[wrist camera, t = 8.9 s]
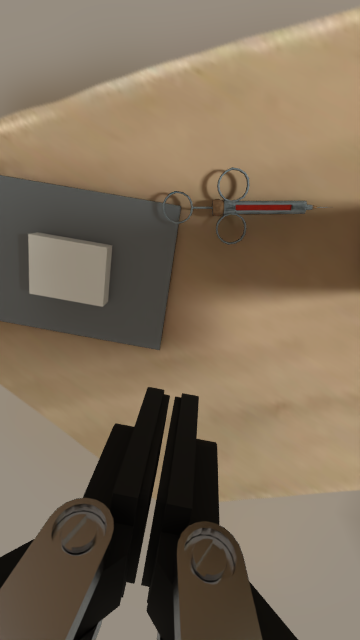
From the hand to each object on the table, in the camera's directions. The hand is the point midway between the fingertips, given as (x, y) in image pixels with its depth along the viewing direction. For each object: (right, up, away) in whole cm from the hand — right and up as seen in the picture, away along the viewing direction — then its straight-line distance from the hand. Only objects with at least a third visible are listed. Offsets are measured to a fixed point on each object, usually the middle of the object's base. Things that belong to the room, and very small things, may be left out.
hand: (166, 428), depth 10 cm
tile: (-8, +9, +27) cm, 29 cm away
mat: (-12, +10, +29) cm, 32 cm away
